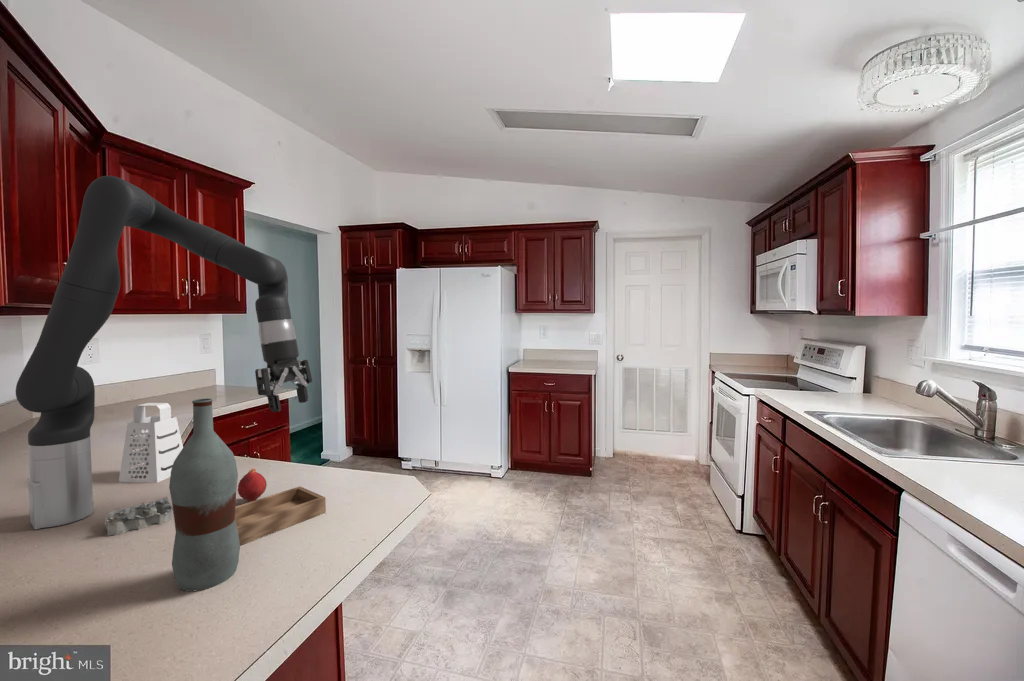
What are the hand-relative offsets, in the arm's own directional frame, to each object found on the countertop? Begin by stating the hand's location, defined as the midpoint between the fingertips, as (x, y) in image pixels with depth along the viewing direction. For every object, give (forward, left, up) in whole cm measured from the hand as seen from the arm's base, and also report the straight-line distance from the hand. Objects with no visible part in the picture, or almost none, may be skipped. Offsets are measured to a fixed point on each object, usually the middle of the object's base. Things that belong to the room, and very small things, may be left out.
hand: (290, 406), depth 103 cm
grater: (-14, +47, -23) cm, 54 cm away
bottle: (-24, -20, -23) cm, 39 cm away
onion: (-6, +6, -23) cm, 24 cm away
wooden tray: (-9, -8, -22) cm, 26 cm away
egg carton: (-25, +14, -23) cm, 37 cm away
